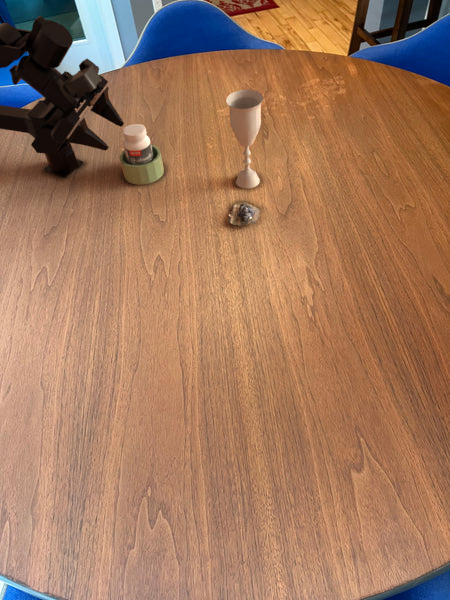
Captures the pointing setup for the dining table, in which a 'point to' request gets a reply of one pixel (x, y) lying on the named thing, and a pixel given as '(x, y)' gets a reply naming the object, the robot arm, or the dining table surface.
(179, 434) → the dining table surface
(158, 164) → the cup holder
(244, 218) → the grey flat irregular piece
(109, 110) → the robot arm
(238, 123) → the chalice
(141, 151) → the pill bottle
